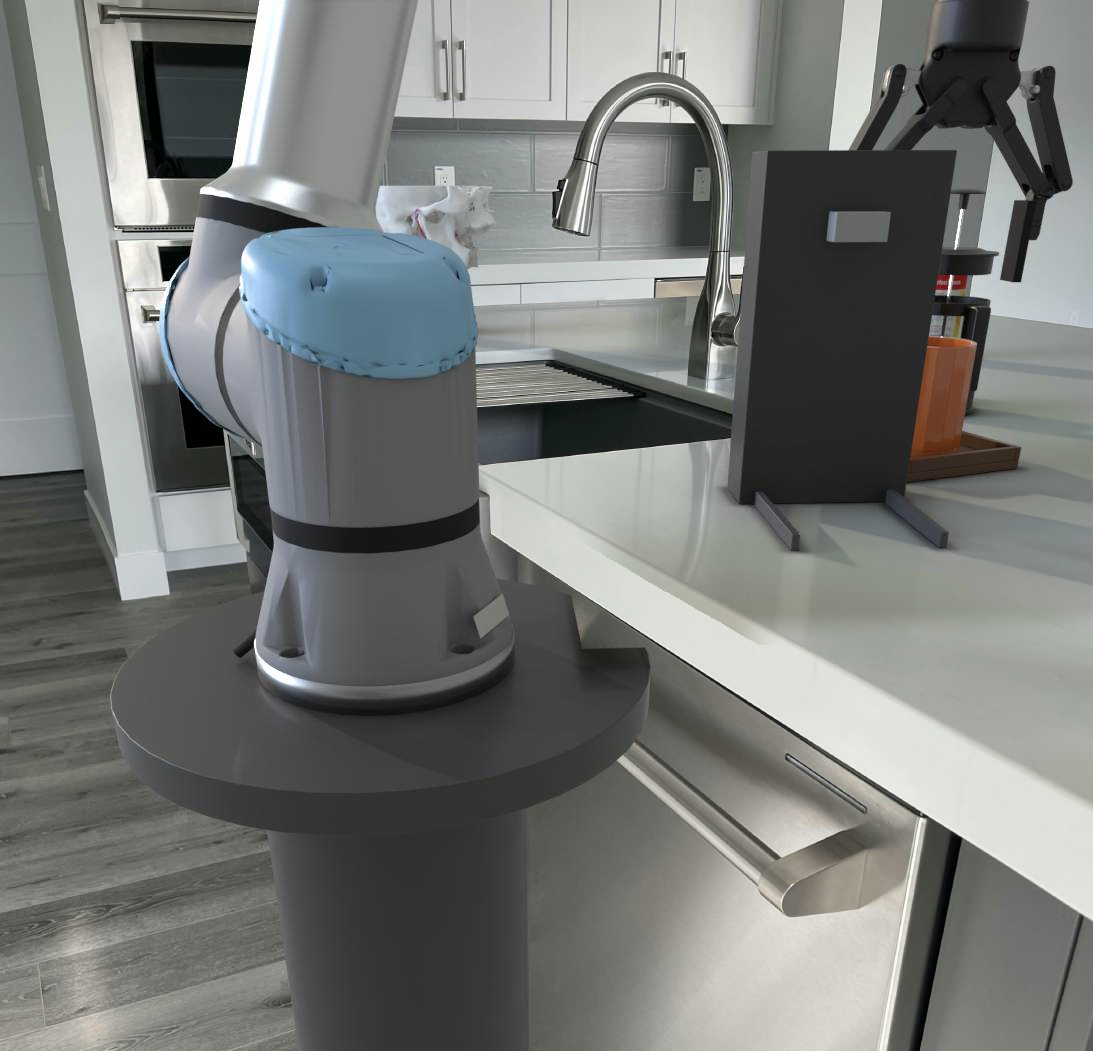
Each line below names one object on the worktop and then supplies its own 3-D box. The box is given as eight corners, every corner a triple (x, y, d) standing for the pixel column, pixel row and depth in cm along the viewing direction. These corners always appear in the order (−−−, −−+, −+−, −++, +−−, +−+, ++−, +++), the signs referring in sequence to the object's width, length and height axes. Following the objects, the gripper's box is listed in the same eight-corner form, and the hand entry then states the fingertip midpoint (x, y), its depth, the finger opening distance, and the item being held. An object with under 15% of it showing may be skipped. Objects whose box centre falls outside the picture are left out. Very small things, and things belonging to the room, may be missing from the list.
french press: (870, 403, 129) (898, 188, 118) (936, 398, 131) (970, 187, 121) (929, 422, 119) (966, 189, 108) (1000, 416, 121) (1043, 189, 111)
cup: (888, 461, 99) (904, 348, 95) (862, 443, 106) (876, 336, 102) (971, 460, 100) (991, 347, 95) (939, 441, 107) (956, 335, 102)
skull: (344, 340, 179) (331, 186, 168) (369, 326, 196) (359, 185, 185) (493, 341, 177) (490, 186, 167) (506, 327, 194) (503, 184, 183)
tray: (903, 482, 96) (906, 460, 95) (815, 451, 106) (817, 431, 106) (1017, 468, 100) (1021, 446, 99) (921, 440, 111) (925, 420, 110)
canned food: (939, 352, 165) (952, 267, 160) (963, 360, 158) (978, 272, 153) (890, 353, 164) (902, 268, 159) (913, 361, 157) (926, 272, 152)
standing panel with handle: (774, 550, 79) (814, 146, 67) (726, 488, 94) (752, 151, 82) (962, 547, 79) (1035, 145, 67) (884, 486, 95) (932, 151, 83)
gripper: (1107, 5, 90) (1052, 277, 100) (815, 1, 89) (787, 277, 99) (1157, -9, 84) (1092, 284, 93) (841, -14, 83) (809, 284, 92)
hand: (935, 281), depth 96 cm, fingers open, 13 cm apart
